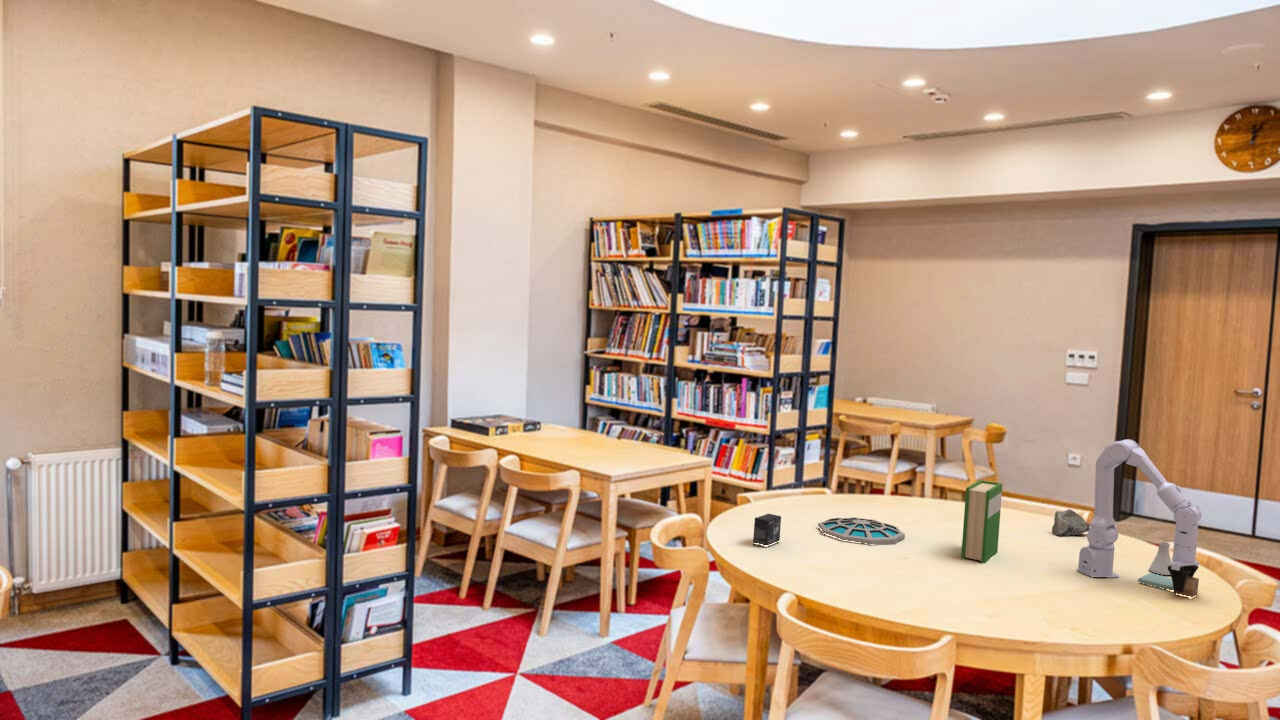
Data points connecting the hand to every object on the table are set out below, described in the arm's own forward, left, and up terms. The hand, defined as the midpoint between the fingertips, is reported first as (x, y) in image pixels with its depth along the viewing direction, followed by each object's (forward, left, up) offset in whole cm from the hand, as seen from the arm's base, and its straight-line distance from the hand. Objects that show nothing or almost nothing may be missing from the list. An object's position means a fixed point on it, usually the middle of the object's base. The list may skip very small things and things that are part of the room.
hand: (1181, 589), depth 256 cm
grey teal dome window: (-71, +68, -2) cm, 99 cm away
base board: (+1, +8, -1) cm, 9 cm away
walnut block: (+1, -1, -2) cm, 2 cm away
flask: (+11, +20, -2) cm, 22 cm away
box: (-111, +56, -2) cm, 125 cm away
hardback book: (-41, +40, -2) cm, 58 cm away
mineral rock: (+12, +64, -2) cm, 65 cm away
